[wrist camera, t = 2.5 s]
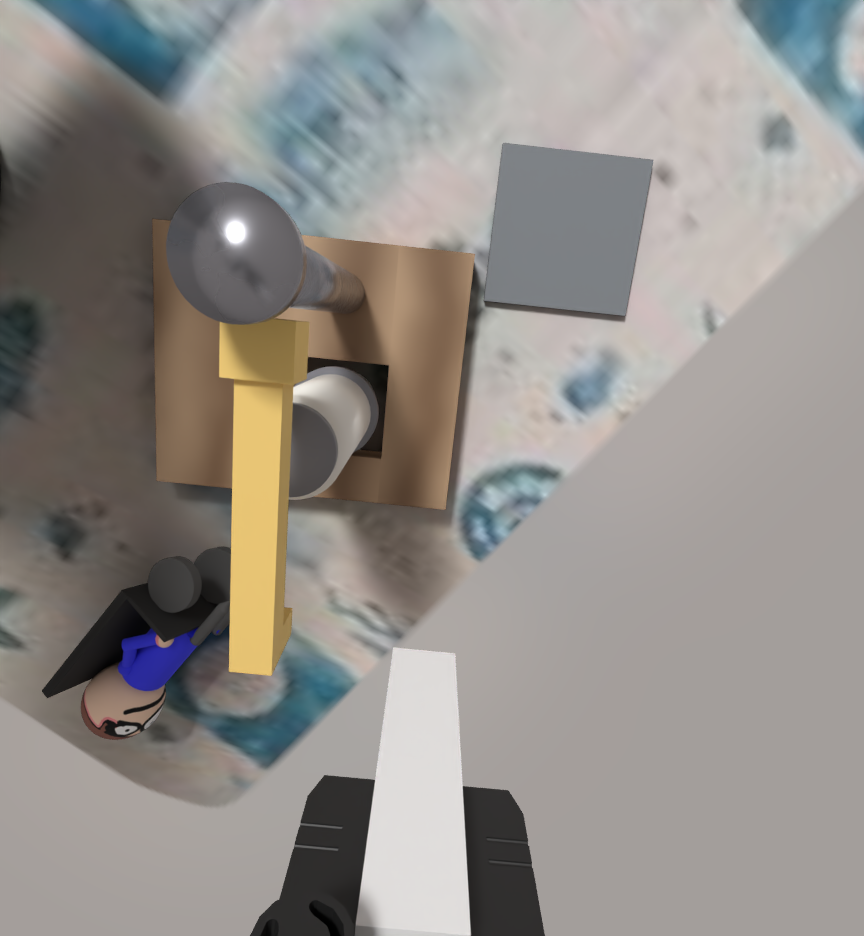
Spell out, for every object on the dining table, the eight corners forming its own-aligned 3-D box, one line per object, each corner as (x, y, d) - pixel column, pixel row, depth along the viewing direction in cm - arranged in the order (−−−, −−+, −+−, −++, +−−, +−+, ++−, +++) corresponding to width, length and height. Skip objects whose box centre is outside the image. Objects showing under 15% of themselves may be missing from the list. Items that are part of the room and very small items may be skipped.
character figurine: (278, 570, 41) (158, 701, 44) (194, 508, 40) (75, 649, 43) (250, 632, 34) (109, 785, 37) (146, 559, 32) (5, 726, 35)
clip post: (314, 320, 35) (166, 317, 16) (317, 258, 34) (164, 175, 15) (372, 326, 35) (297, 331, 16) (377, 265, 34) (303, 190, 15)
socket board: (170, 473, 39) (156, 480, 37) (167, 224, 35) (152, 218, 33) (444, 500, 40) (445, 509, 38) (472, 257, 36) (474, 253, 34)
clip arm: (244, 629, 24) (215, 674, 21) (252, 314, 21) (219, 313, 18) (300, 634, 24) (280, 680, 21) (316, 321, 21) (295, 321, 18)
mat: (483, 300, 36) (484, 300, 36) (502, 144, 34) (503, 142, 34) (623, 315, 36) (625, 315, 36) (651, 161, 34) (653, 159, 34)
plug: (300, 439, 39) (222, 506, 24) (304, 358, 37) (224, 380, 23) (379, 447, 39) (347, 518, 25) (386, 367, 37) (356, 394, 23)
